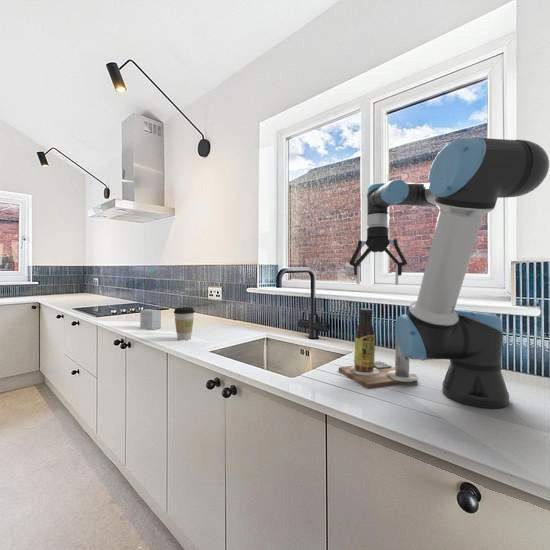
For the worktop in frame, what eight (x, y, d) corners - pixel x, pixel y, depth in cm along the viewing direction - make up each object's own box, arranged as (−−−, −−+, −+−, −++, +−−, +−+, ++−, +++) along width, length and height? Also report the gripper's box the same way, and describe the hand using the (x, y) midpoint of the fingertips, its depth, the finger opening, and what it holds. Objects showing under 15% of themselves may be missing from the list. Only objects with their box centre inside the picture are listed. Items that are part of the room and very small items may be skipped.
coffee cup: (197, 339, 149) (197, 308, 149) (177, 342, 143) (177, 310, 143) (190, 336, 157) (190, 306, 157) (171, 338, 152) (171, 308, 151)
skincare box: (161, 328, 178) (161, 310, 178) (151, 330, 172) (151, 311, 172) (149, 326, 183) (149, 308, 183) (139, 328, 178) (139, 310, 177)
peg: (412, 376, 94) (412, 331, 94) (401, 378, 93) (401, 331, 93) (402, 372, 98) (403, 328, 98) (392, 373, 97) (392, 329, 96)
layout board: (424, 383, 93) (424, 377, 93) (373, 391, 87) (373, 384, 87) (384, 365, 110) (384, 359, 110) (338, 370, 104) (338, 365, 104)
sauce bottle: (363, 374, 96) (364, 310, 96) (350, 368, 102) (350, 308, 101) (379, 371, 99) (379, 309, 99) (365, 365, 105) (365, 307, 104)
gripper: (415, 226, 112) (414, 284, 112) (346, 229, 123) (345, 283, 123) (414, 223, 105) (413, 285, 106) (341, 227, 116) (341, 283, 117)
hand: (377, 284), depth 114 cm, fingers open, 13 cm apart
